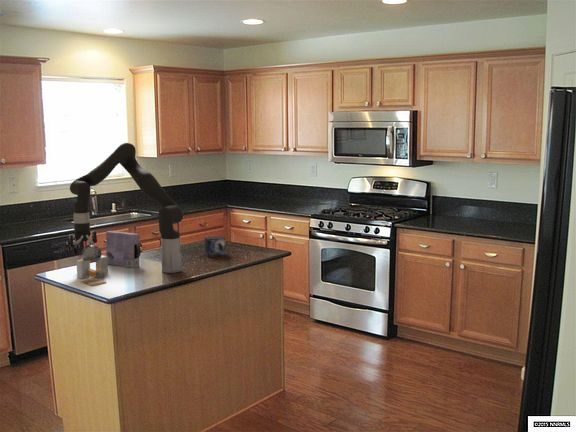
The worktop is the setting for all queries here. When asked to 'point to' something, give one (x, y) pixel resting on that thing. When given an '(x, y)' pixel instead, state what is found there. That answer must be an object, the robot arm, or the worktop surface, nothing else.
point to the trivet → (93, 281)
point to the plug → (96, 273)
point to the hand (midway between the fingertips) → (83, 253)
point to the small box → (215, 246)
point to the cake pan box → (122, 249)
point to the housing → (91, 261)
